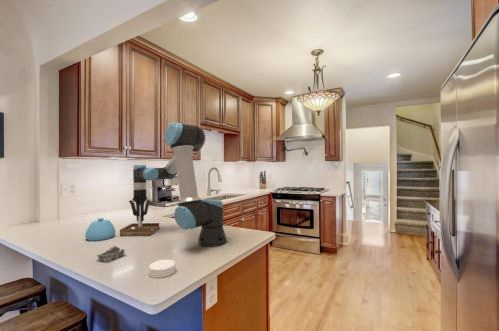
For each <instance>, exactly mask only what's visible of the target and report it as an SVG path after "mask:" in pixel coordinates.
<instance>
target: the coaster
mask: <svg viewBox="0 0 499 331" xmlns="http://www.w3.org/2000/svg"><path fill="white" fill-rule="evenodd" d="M176 267H177V264H176V261H174V260H171V259H161V260H156V261H154V262H153V261H152V263H150V264H149V265H148V276H149V277H151V278H153V279H162V278H163V279H164V278H166V277H169V276H172V275H173V274H175V272H176V271H177V269H176Z"/></svg>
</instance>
